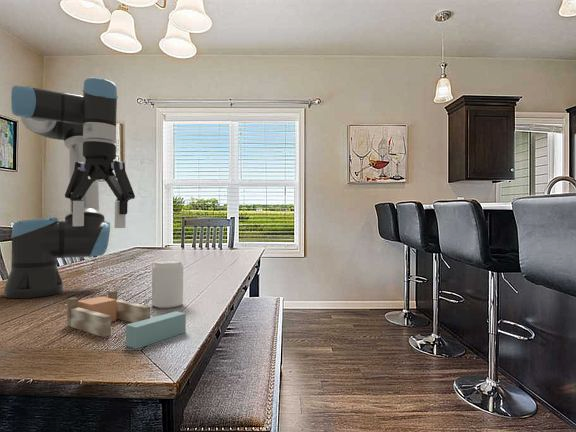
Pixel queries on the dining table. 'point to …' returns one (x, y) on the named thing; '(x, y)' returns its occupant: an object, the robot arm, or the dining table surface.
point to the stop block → (155, 329)
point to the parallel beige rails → (104, 315)
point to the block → (100, 306)
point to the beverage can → (167, 284)
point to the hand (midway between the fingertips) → (98, 227)
